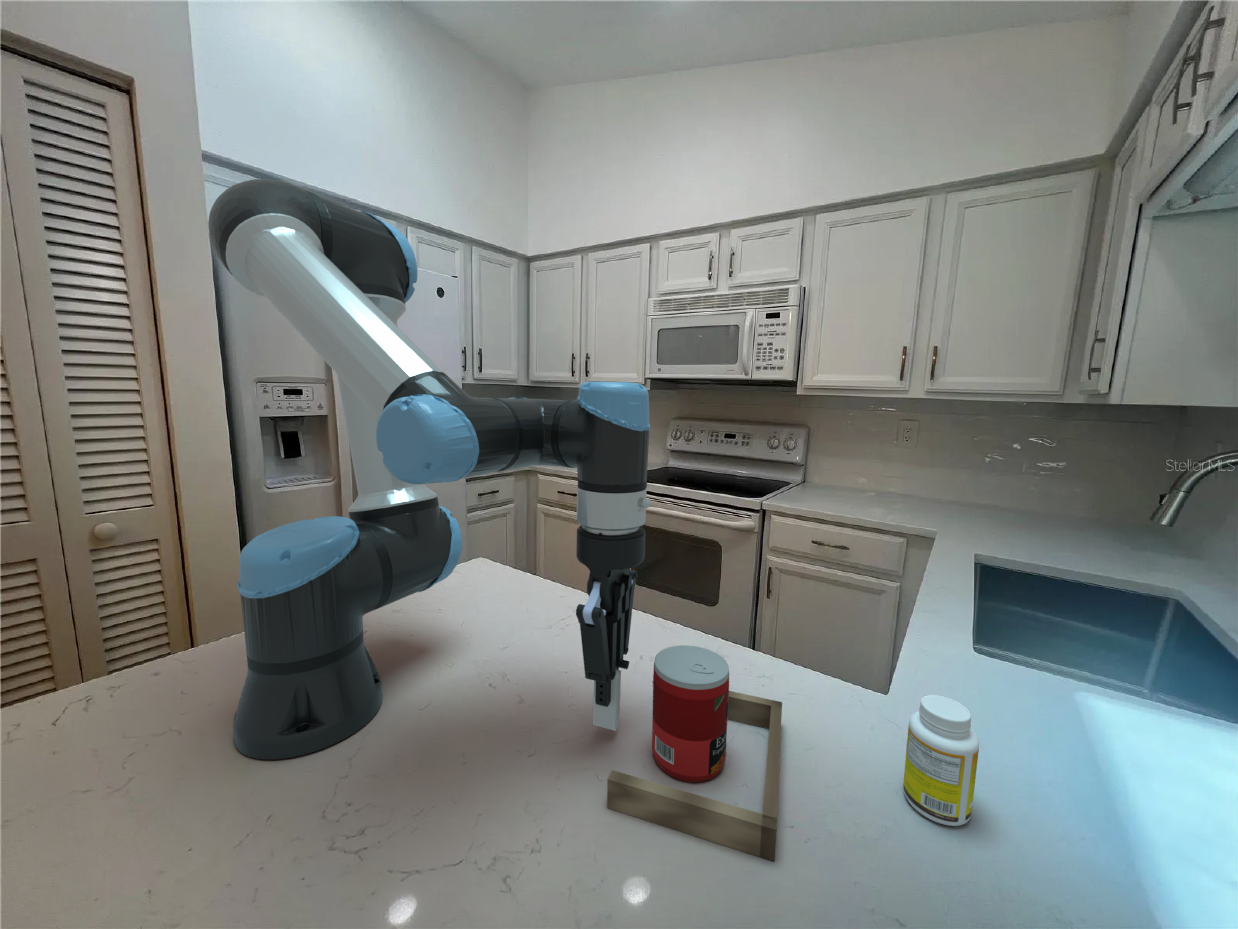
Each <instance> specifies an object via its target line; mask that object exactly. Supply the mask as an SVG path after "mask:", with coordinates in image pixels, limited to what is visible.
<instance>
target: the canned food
mask: <svg viewBox="0 0 1238 929" xmlns="http://www.w3.org/2000/svg"><path fill="white" fill-rule="evenodd" d="M729 667H730V666H729V663H728V662H727V660H726V659H725V658H724V657H723V656H722V655H720V654H719V653H717V652H715V651H713V650H711V649H708V648H705V647H701V646H697V645H686V644H683V645H673V646H669V647H666V648H663V649H661V650H660V651H659V652H658V653H656V655H655V657H654V662H653V673H652V674H653V675H652V676H653V677H652V720H651V721H652V730H651V731H652V732H651V735H652V736H651V749H652V753H653V754H652V755H653V756H654V760H655V762H656V764H657V766H659V768H660V769H661V770H662V771H663V772H664V773H666V774H667V775H669V776H671V777H673V778H675V779H677V780H681V781H685V782H690V783H696V782H697V783H700V782H705V781H709V780H712V779H713V778H714V777H715V778H716V777H717V775H719V773H721V770H722V769H723V767H724V764H725V761H726V756H727V754H726V753H727V738H728V736H727V735H728V734H727V733H728V719H727V717H728V697H729V691H730V668H729Z"/></svg>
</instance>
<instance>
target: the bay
mask: <svg viewBox="0 0 1238 929" xmlns="http://www.w3.org/2000/svg"><path fill="white" fill-rule="evenodd" d="M782 710H783V701H780V700H779V701H778V700H775V699H771V698H770V699H769V698H765V697H760V696H756V695H750V694H745V693H741V692H736V691H732V690H729V697H728V717H727V720H729V721H734V722H738V723H742V724H747V725H751V726H756V727H760V728H763V729H768V738H767V739H768V742H767V754H766V755H767V756H766V765H765V780H764V790H763V791H764V792H763V804H762V813H760V812H757V811H754V810H750V809H747V808H743V807H739V806H736V805H733V804H729V803H726V802H724V801H719V800H716V799H713V798H709V797H706V796H702V795H699V794H697V793H691V792H689V791H685V790H682V789H677V788H674V787H671V786H667V785H664V784H661V783H659V782H655V781H651V780H648V779H646V778H645V779H644V778H641V777H637V776H635V775H630V774H628V773H624V772H620V771H616V770H615V769H614V770H613V769H611V771H610V773H609V775H608V777H607V779H606V781H607V783H606V786H607V787H606V789H607V790H606V791H607V793H606V795H607V796H606V799H607V800H606V803H607V804H606V808H608V809H610V810H613V811H617V812H619V813H623V814H625V815H629V816H632V817H635V818H638V819H641V820H645V821H647V822H650V823H654V824H657V825H660V826H663V827H667V828H670V829H672V830H676V831H679V832H682V833H684V834H687V835H691V836H695V837H696V838H699V839H700V838H701V839H703V840H706V841H708V842H713V843H716V844H718V845H722V846H724V847H725V846H726V847H728V848H731V849H735V850H738V851H740V852H743V853H747V854H749V855H752V856H756V857H760V858H762V859H765V860H768V861H771V862H774V863H775V859H776V846H777V845H776V843H777V825H778V824H777V823H778V806H779V805H778V803H779V781H780V759H781V758H780V757H781V738H782V736H781V735H782V718H783V717H782V716H783V714H782V713H783V711H782Z"/></svg>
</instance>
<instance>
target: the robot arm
mask: <svg viewBox="0 0 1238 929" xmlns="http://www.w3.org/2000/svg"><path fill="white" fill-rule="evenodd" d="M208 215H209V216H208V220H207V222H208V223H207V224H208V236H209V240H210V242H211V245H212V249H213V251H214V253H215V255H216V256H217V258H218V259H219V261H220V262H221V264H222V266H223V267H224V268H225V269H226V270H227V271H228V272H229V274H230V275H232V277H233V278H234V279H235V280H236V281H237V282H238V283H239V284H240V285H241V286H243V288H245V289H246V290H247V291H249V292H251V293H253V294H256V295H258V296H262V297H265V298H266V299H267V300H268V301H269V302H270V303H271V304H272V305H273V307H274V308H275V309H276V310H277V311H278V312H279V314H281V315H282V316H283V317H284V318H285V319H286V320H287V322H288V323H289V324H290V325H291V327H293V328H294V329H295V331H297V333H298V334H299V335H300V336H301V337H302V338H303V339H304V340H305V341H306V343H308V345H310V346H311V347H312V348H313V350H314V351H315V352H316V353H317V354H318V355H319V356H320V357H321V359H323V360H324V362H325V363H326V364H327V365H328V366H329V367H330V368H331V369H332V371H334V372H335V373H336V376H337V382H338V386H339V387H338V388H339V393H340V398H341V404H342V409H343V410H342V411H343V415H344V420H345V426H346V432H347V436H348V437H347V438H348V444H349V449H350V455H351V460H352V467H353V472H354V478H355V484H356V490H357V496H356V498H355V500H354V501H353V503H352V504H351V505H350V506H349V508H348V516H349V517H346V516H345V517H344V516H336V515H335V516H333V515H332V516H320V517H316V518H312V519H303V520H302V519H301V520H297V521H294V522H290V523H289V522H288V523H286V524H282V525H279V526H277V527H274V528H272V529H270V530H267V531H265V532H263V533H261V534H258V535H257V536H255V537H254V538H253V539H251V540H250V541H248V543H247V544H246V545H245V546H244V547H243V548H242V550H241V552H240V553H239V554H240V555H239V556H238V558H239V559H238V561H239V562H238V564H239V565H238V580H237V582H238V583H237V590H238V592H239V594H240V604H241V605H240V606H241V614H242V622H243V631H244V640H245V641H244V642H245V650H246V652H245V653H246V660H247V673H246V674H247V675H246V677H245V681H244V684H243V687H242V691H241V693H240V697H239V702H238V704H237V705H238V706H237V710H236V711H235V713H234V716H233V723H232V728H233V739H234V745H235V747H236V749H237V750H238V751H239V752H240V753H241V754H242V755H244V756H246V757H249V758H253V759H257V760H281V759H291V758H296V757H300V756H304V755H308V754H311V753H315V752H317V751H320V750H323V749H325V748H328V747H330V746H333V745H335V744H336V743H339V742H341V741H343V740H345V739H346V738H348V737H350V736H352V735H353V734H356V732H358V731H360V730H361V729H362V728H363V727H364V726H366V725H367V724H368V723H369V722H370V721H371V720H372V719H373V718H374V717H375V716H376V714H377V713H378V711H379V710H380V708H381V707H382V703H383V698H384V696H383V682H382V679H381V675H380V673H379V672H378V669H377V667H376V665H375V663H374V661H373V658H372V657H371V654H370V653H369V650H368V649H367V646H366V645H365V639H364V623H363V622H364V620H363V619H364V618H363V617H364V616H365V615H366V614H369V613H371V612H373V611H376V610H378V609H381V608H383V607H385V606H388V605H390V604H392V603H395V602H397V601H400V600H402V599H404V598H407V597H409V596H412V595H414V594H416V593H421V592H425V591H426V590H429V589H430V588H432V587H433V586H434V585H436V584H438V583H440V582H442V581H444V580H445V579H447V578H448V577H450V575H452V573H453V571H454V569H456V567H457V566H458V563H459V562H460V559H461V555H462V550H463V537H462V536H463V533H462V530H461V527H460V524H459V522H458V520H457V518H456V517H453V513H452V512H451V511H450V510H449V509H448V508H446V507H444V506H442V505H440V502H439V498H438V494H437V493H436V492H435V491H433V490H432V489H430V488H428V487H427V486H426V485H428V484H437V483H438V484H441V483H442V484H443V483H452V482H457V481H460V480H461V479H464V478H465V479H466V478H470V477H476V476H480V475H486V474H490V473H492V474H493V473H496V472H497V473H498V472H504V471H510V470H511V471H512V470H516V469H521V468H526V467H530V466H531V467H532V466H533V467H534V466H547V467H548V466H550V467H562V468H566V469H567V468H571V469H576V472H577V485H576V486H577V488H576V489H577V490H576V518H575V519H576V522H577V523H578V524H579V526H578V528H576V559H577V560H578V562H579V563H580V564H582V565H584V566H585V567H586V568H587V569H588V571H589V575H588V579H587V581H586V594H587V595H588V599H587V602H586V603H585V604H581V603H579V604H578V605H577V606H576V609H575V616H576V618H577V620H578V623H579V628H580V630H579V631H580V637H581V638H580V640H581V647H582V649H581V650H582V659H583V668H584V676H585V677H584V678H585V679H587V680H590V681H593V714H592V715H593V717H592V721H593V723H592V725H593V726H596V727H599V728H602V729H603V728H604V729H606V730H611V731H614V732H615V731H616V730H617V728H618V727H619V724H620V721H621V720H620V718H621V715H620V714H621V689H622V688H621V686H622V685H621V683H622V670H620V669H624V670H628V669H629V666H630V661H629V660H626V659H624V656H625V655H627V654H628V652H629V643H630V634H631V627H632V626H631V625H632V616H633V605H634V597H635V596H634V595H635V588H636V582H637V579H638V571H637V570H633V569H634V568H635V567H637V566H640V564H641V565H642V563H643V562H644V561H645V557H646V556H645V555H646V534H647V533H646V530H645V528H644V527H643V525H645V523H646V518H647V517H646V516H647V514H646V513H647V512H646V510H647V509H648V508H651V504H652V500H651V499H649V498H647V490H648V489H647V487H648V465H649V463H648V462H649V461H648V460H649V447H650V446H649V445H650V443H649V442H650V431H651V424H650V396H649V391H648V389H647V388H646V387H645V385H643V384H641V383H638V382H637V383H636V382H628V381H627V382H625V381H624V382H623V381H584V382H583V383H581V384H580V385H579V387H578V392H577V393H578V394H577V397H576V399H568V400H561V399H548V398H547V399H543V398H528V397H507V398H504V397H503V398H499V397H498V398H497V397H473V396H471V395H470V394H468V393H467V392H466V391H465V390H464V389H463V388H461V387H460V386H459V385H458V384H457V383H456V382H455V381H454V380H453V379H452V378H451V377H449V376H448V375H447V373H445V371H443V370H442V369H441V368H440V367H439V366H438V365H437V363H435V362H434V361H433V360H432V359H431V357H429V356H428V355H427V354H426V353H425V352H424V351H423V350H422V349H421V348H420V347H419V346H418V344H416V343H415V342H414V341H413V340H412V339H411V338H410V337H409V336H408V335H406V333H405V332H403V330H402V329H401V328H400V327H398V320H400V318H401V317H402V315H403V314H404V313H405V312H407V311H406V310H407V306H406V303H407V302H408V301H409V300H410V299H411V298H412V296H413V294H414V292H415V290H416V288H415V287H414V284H417V282H418V262H417V258H416V254H415V252H414V249H413V247H412V245H411V243H410V241H409V240H408V238H407V237H406V235H405V234H403V233H402V231H400V229H398V228H397V227H396V226H394V225H392V224H391V223H388V222H386V221H384V220H382V219H381V218H379V217H378V216H376V215H374V214H372V213H370V212H366V211H363V210H362V211H359V210H357V209H354V208H352V207H349V206H347V205H345V204H342V203H339V202H336V201H334V200H332V199H329V198H327V197H324V196H322V195H319V194H317V193H314V192H311V191H308V190H306V189H303V188H302V187H300V186H297V185H295V184H291V183H288V182H286V181H285V182H284V181H280V180H276V179H268V178H264V179H263V178H259V179H257V178H255V179H250V180H244V181H242V182H241V181H240V182H239V183H235V184H232V185H231V186H230V187H228V188H227V189H225V190H224V191H223V192H222V193H221V194H220V195H219V196H218V197H217V198H216V199H215V201H214V202H213V204H212V206H211V208H210V211H209V214H208Z"/></svg>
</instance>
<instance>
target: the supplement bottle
mask: <svg viewBox="0 0 1238 929" xmlns="http://www.w3.org/2000/svg"><path fill="white" fill-rule="evenodd" d="M971 722H972V714H971V712H970V711H969V709H968V708H967V707H966V706H964V705H963V704H962V703H960V702H958V701H956V700H954V699H951V698H949V697H946V696H942V695H937V694H928V695H925V696H922V697H921V699H920V704H919V708H918V711H915V712H913V713H912V714H911V716H910V717H909V720H908V727H907V740H906V749H905V750H906V752H905V762H904V772H903V785H902V786H903V787H902V788H903V793H904V796H905V798H906V800H907V801H908V802H909V804H910V805H911V806H912V807H913V808H914V810H916V811H917V812H918V813H919V814H921V815H922V816H923V817H925V818H927V819H929V820H931V821H933V822H935V823H938V824H942V825H945V826H952V827H959V826H962V825H964V824H967V823H968V822H969V820H970V819H971V817H972V814H973V813H972V811H973V803H974V795H975V784H976V779H977V778H976V777H977V771H978V770H977V769H978V759H979V752H980V751H979V750H980V739H979V738H978V736H977V733H976V732H975V731H974V730H973V729H972V723H971Z"/></svg>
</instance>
